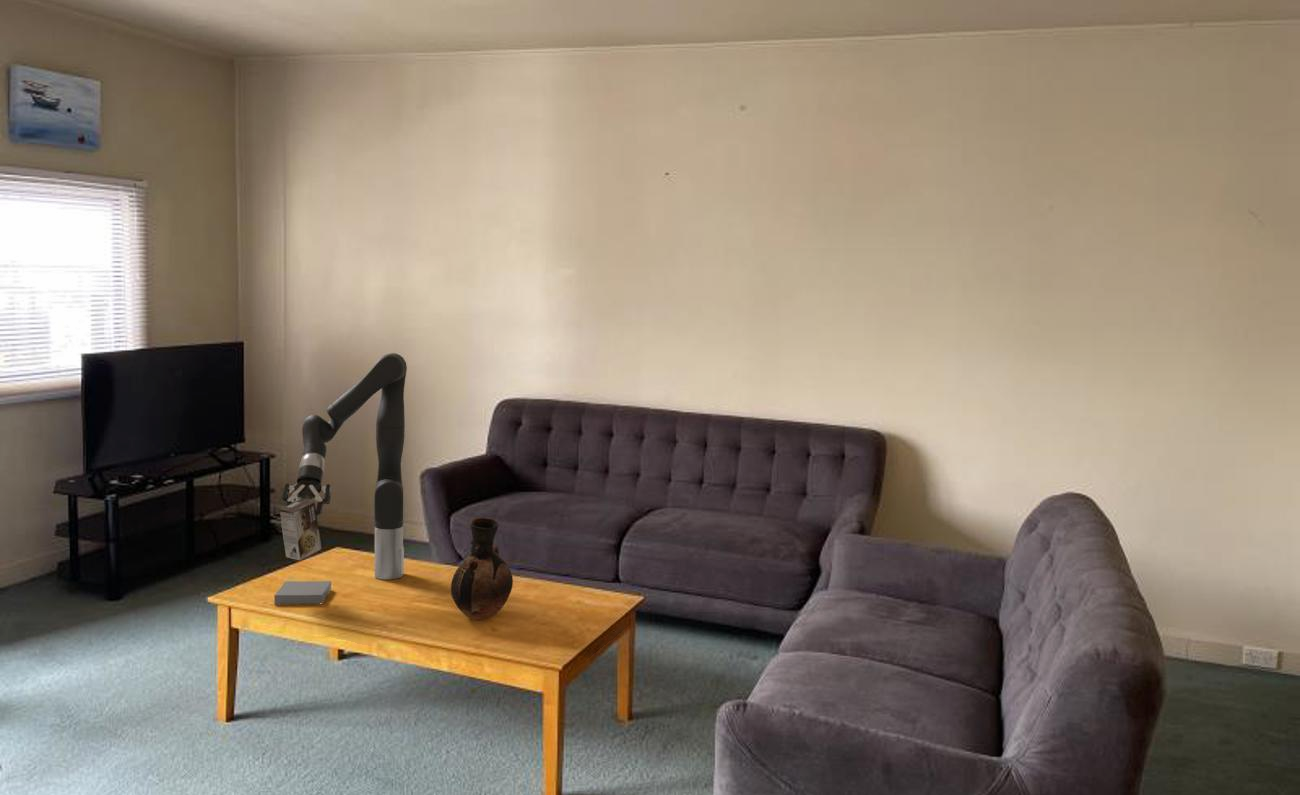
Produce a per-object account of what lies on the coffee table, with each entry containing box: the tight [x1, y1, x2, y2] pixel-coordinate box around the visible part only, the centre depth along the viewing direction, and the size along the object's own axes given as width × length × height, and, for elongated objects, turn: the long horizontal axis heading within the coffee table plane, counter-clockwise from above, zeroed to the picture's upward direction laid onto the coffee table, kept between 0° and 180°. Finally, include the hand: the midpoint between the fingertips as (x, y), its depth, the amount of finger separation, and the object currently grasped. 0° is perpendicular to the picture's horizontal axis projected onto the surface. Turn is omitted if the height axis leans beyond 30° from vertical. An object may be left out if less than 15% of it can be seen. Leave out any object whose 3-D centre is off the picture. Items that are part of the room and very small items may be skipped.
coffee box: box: [278, 498, 322, 561], centre depth 300 cm, size 9×6×16 cm
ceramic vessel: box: [450, 517, 514, 621], centre depth 290 cm, size 21×18×30 cm
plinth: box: [273, 580, 332, 605], centre depth 304 cm, size 14×14×3 cm
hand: (303, 514), depth 301 cm, fingers closed on coffee box, 8 cm apart
